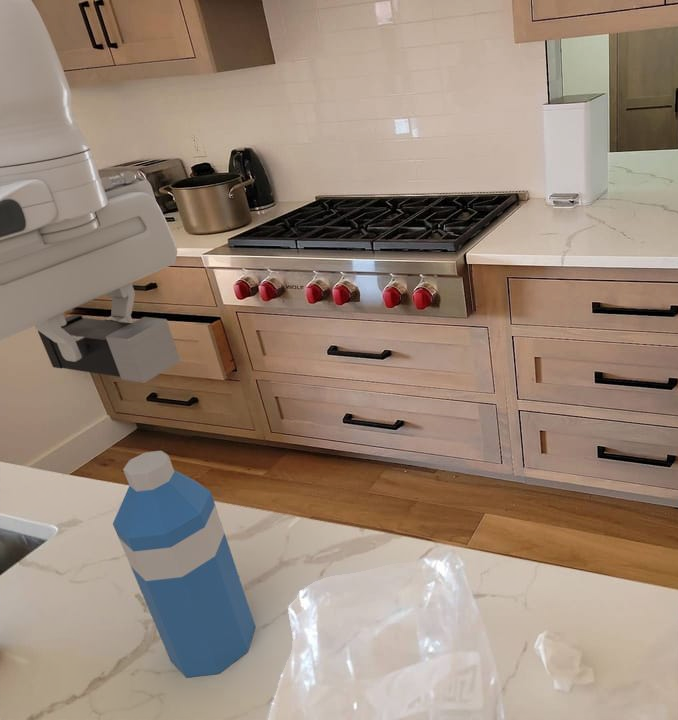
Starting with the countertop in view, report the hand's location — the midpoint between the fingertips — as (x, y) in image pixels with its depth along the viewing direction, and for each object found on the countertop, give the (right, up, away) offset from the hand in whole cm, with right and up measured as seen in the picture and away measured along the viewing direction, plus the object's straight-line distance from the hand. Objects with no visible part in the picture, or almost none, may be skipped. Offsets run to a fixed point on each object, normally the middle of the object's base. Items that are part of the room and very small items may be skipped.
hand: (101, 345), depth 62 cm
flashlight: (+1, -2, +1) cm, 2 cm away
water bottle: (+4, -34, +16) cm, 37 cm away
